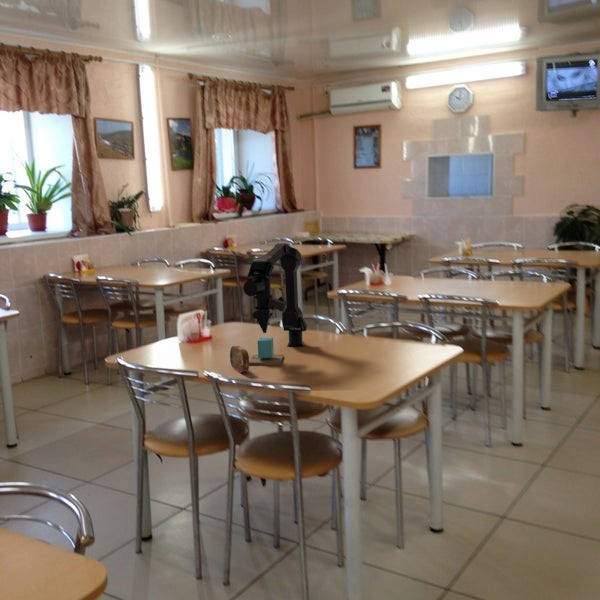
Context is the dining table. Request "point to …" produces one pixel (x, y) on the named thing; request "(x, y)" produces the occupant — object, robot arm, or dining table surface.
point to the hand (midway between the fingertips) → (265, 332)
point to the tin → (239, 359)
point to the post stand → (266, 360)
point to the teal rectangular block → (265, 348)
